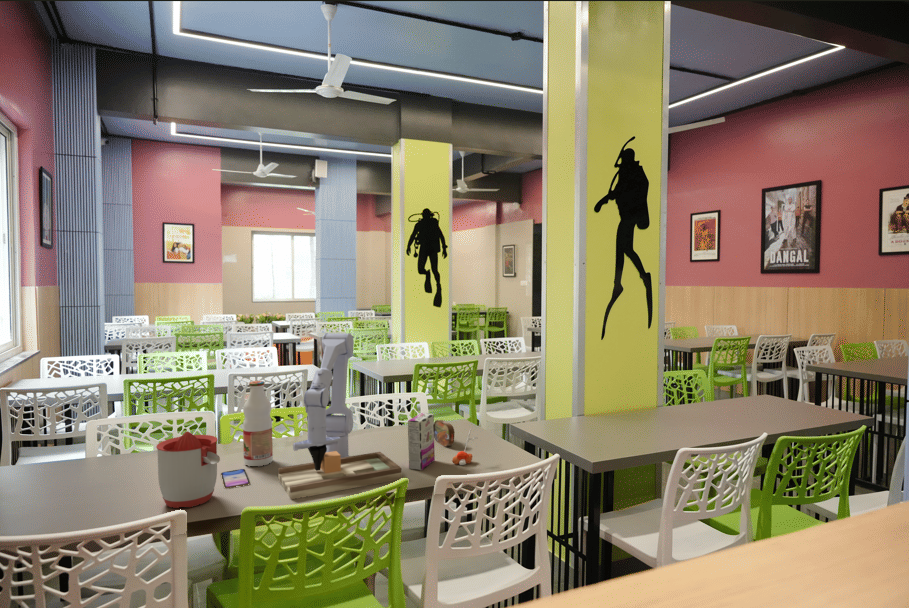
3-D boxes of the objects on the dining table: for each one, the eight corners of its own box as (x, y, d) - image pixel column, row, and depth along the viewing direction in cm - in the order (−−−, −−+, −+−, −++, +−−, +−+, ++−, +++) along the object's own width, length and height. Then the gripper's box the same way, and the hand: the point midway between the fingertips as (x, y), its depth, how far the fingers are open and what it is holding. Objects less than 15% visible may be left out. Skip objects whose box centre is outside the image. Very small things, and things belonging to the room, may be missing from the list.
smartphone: (224, 490, 166) (224, 487, 166) (220, 475, 179) (220, 471, 179) (250, 486, 169) (250, 482, 169) (245, 471, 183) (245, 468, 183)
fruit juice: (264, 468, 185) (262, 384, 184) (238, 466, 186) (236, 384, 185) (277, 459, 194) (276, 379, 193) (252, 457, 195) (250, 379, 194)
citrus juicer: (197, 516, 147) (195, 441, 146) (144, 509, 152) (142, 437, 151) (235, 494, 162) (234, 426, 161) (186, 488, 167) (184, 422, 166)
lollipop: (481, 464, 187) (481, 429, 186) (454, 467, 184) (454, 431, 184) (475, 459, 193) (475, 425, 192) (449, 461, 190) (449, 427, 189)
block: (321, 468, 177) (320, 453, 177) (336, 466, 180) (336, 451, 180) (325, 473, 173) (325, 457, 173) (340, 470, 175) (340, 455, 175)
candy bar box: (421, 459, 193) (421, 412, 192) (435, 460, 191) (434, 413, 190) (407, 469, 182) (407, 420, 182) (421, 471, 181) (421, 421, 180)
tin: (432, 439, 218) (432, 417, 217) (439, 438, 219) (439, 417, 219) (448, 449, 204) (448, 426, 204) (456, 448, 205) (455, 425, 205)
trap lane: (278, 478, 174) (278, 467, 174) (380, 461, 190) (380, 451, 190) (290, 499, 157) (290, 487, 157) (401, 478, 173) (401, 467, 173)
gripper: (296, 432, 167) (296, 477, 168) (343, 426, 174) (343, 469, 174) (291, 427, 173) (292, 470, 174) (336, 421, 180) (337, 462, 181)
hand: (317, 469), depth 174 cm, fingers closed
